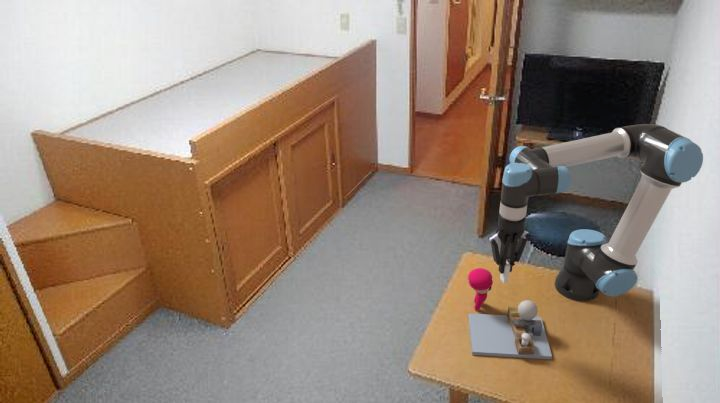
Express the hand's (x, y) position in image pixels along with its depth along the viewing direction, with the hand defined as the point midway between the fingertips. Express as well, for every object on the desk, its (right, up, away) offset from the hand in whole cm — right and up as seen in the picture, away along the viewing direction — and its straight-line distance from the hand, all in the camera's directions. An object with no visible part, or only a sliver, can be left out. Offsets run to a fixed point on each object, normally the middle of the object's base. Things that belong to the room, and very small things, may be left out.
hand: (503, 280), depth 169 cm
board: (+3, -19, +7) cm, 21 cm away
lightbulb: (+9, -18, +9) cm, 22 cm away
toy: (-4, -12, +20) cm, 24 cm away
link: (+6, -18, +6) cm, 20 cm away
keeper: (+9, -19, +7) cm, 22 cm away
